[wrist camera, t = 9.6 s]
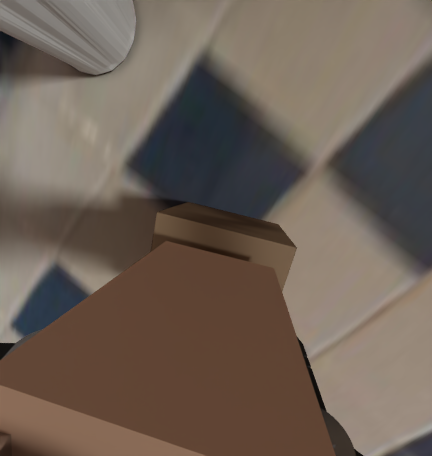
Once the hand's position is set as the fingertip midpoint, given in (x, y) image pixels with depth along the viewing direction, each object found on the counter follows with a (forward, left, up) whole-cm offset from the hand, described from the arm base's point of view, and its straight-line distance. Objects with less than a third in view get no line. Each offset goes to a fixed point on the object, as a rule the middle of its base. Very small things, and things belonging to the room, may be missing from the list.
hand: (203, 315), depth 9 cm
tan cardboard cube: (0, 0, -1) cm, 1 cm away
